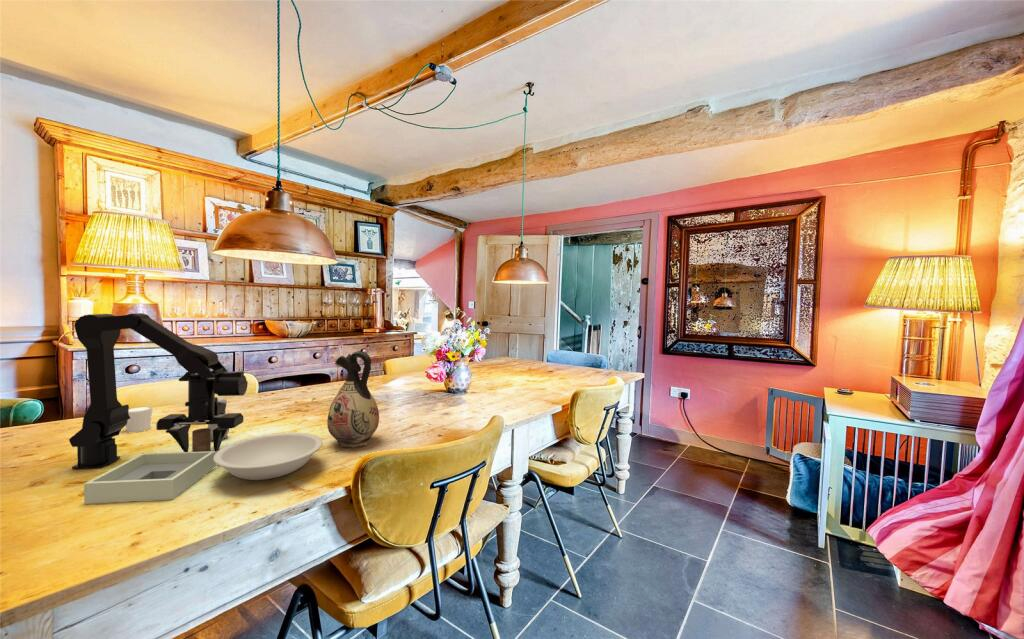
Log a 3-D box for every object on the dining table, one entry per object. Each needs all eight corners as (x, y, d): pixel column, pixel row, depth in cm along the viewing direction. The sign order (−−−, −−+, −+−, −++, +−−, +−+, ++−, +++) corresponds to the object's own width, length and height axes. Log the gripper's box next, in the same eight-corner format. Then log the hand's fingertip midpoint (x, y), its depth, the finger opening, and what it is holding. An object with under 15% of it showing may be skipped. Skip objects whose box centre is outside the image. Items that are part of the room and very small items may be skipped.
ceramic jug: (314, 447, 118) (316, 350, 117) (351, 432, 133) (352, 346, 131) (360, 456, 113) (362, 355, 111) (392, 439, 127) (394, 349, 126)
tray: (84, 504, 83) (84, 483, 83) (142, 470, 99) (142, 453, 99) (172, 499, 86) (172, 479, 86) (215, 467, 102) (215, 451, 102)
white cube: (118, 431, 125) (118, 410, 125) (143, 425, 132) (143, 405, 132) (132, 434, 123) (132, 413, 123) (157, 428, 130) (157, 407, 130)
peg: (188, 461, 105) (188, 433, 105) (197, 456, 109) (197, 428, 109) (205, 461, 106) (205, 432, 105) (213, 455, 110) (213, 428, 109)
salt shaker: (219, 442, 119) (219, 401, 119) (201, 441, 120) (201, 400, 119) (233, 436, 125) (233, 396, 125) (216, 435, 125) (216, 395, 125)
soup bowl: (231, 459, 108) (231, 436, 107) (326, 450, 116) (326, 429, 116) (196, 502, 85) (196, 472, 85) (316, 487, 94) (316, 460, 93)
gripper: (252, 389, 116) (252, 440, 117) (182, 389, 113) (182, 442, 114) (233, 398, 105) (233, 454, 106) (154, 399, 102) (154, 457, 103)
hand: (201, 451), depth 107 cm, fingers open, 7 cm apart
